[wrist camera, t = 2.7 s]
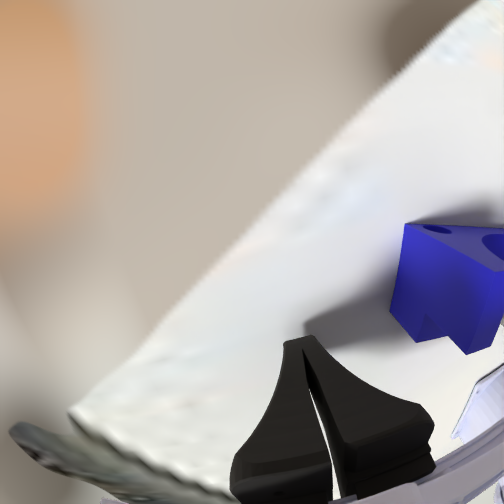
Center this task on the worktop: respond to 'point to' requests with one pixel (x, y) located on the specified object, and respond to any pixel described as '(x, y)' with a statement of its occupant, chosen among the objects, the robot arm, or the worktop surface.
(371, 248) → the worktop surface
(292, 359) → the robot arm
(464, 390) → the worktop surface
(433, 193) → the worktop surface
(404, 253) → the cable clip
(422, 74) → the worktop surface
